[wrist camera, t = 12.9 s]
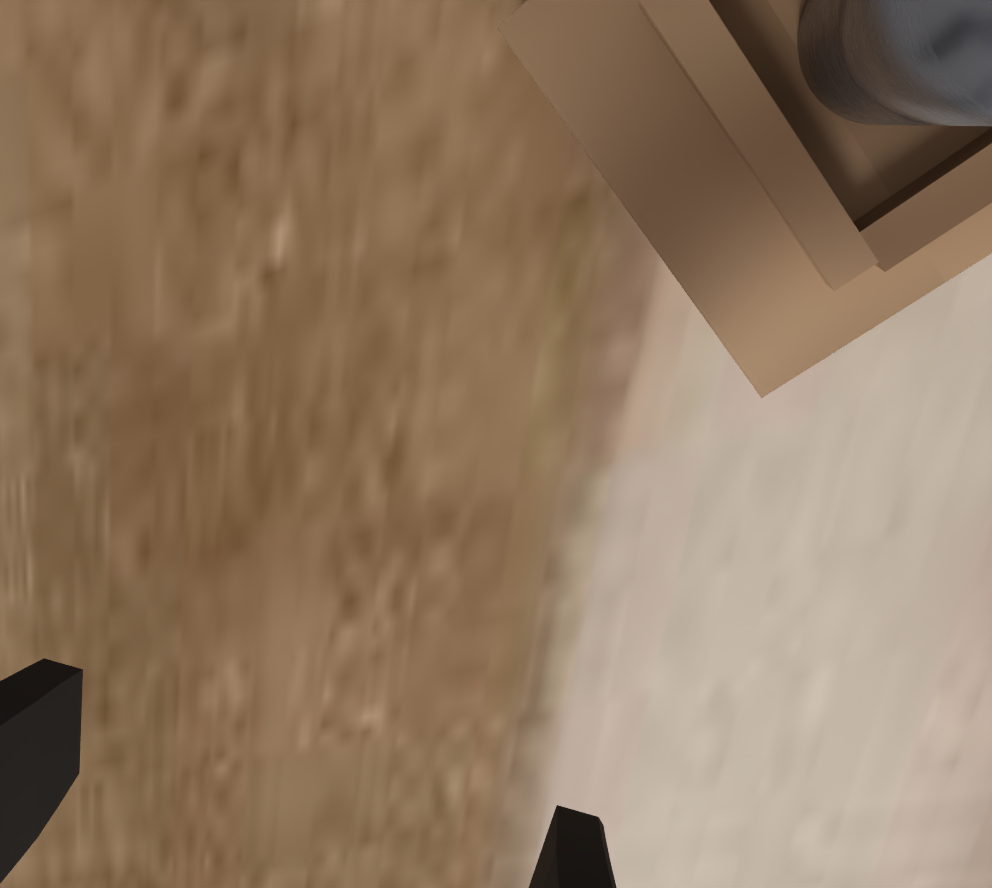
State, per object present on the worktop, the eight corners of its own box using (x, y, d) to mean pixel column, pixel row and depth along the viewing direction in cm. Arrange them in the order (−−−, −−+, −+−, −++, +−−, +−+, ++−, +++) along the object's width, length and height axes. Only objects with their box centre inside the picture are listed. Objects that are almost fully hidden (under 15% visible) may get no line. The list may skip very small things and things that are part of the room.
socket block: (524, 43, 18) (489, 23, 13) (985, -366, 14) (1143, -573, 10) (736, 342, 19) (768, 412, 15) (1194, 38, 16) (1408, 14, 12)
